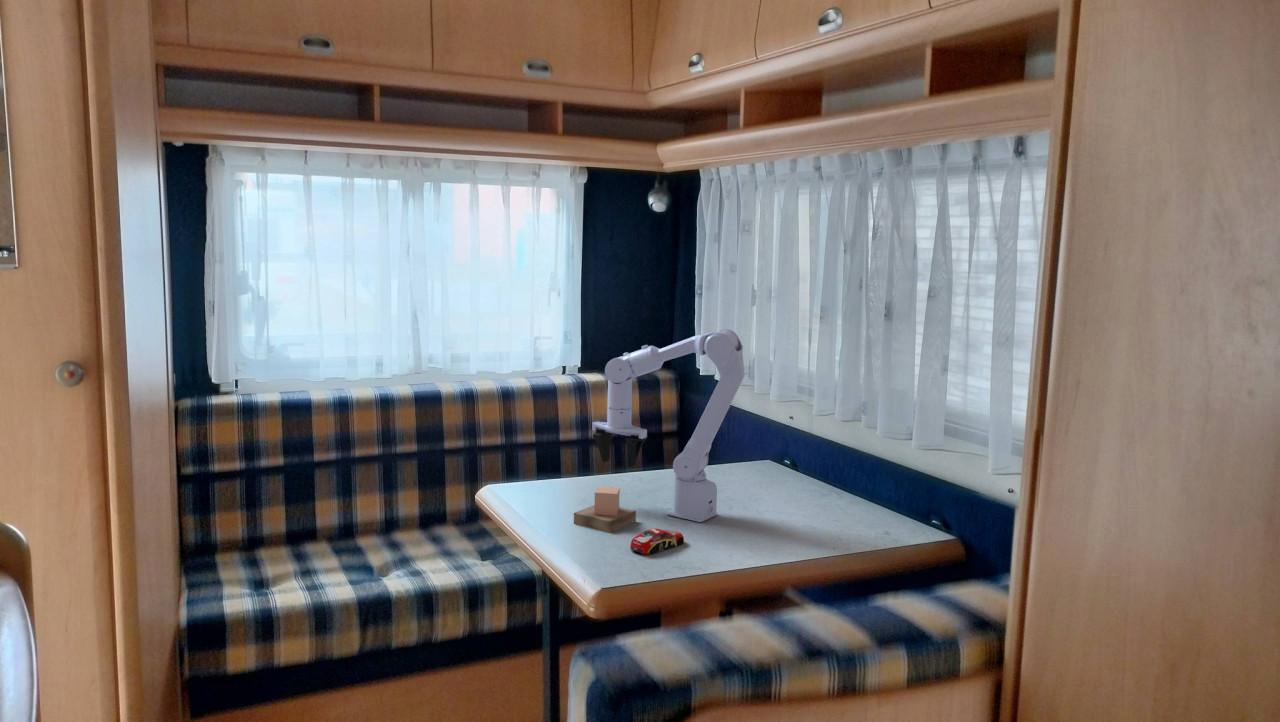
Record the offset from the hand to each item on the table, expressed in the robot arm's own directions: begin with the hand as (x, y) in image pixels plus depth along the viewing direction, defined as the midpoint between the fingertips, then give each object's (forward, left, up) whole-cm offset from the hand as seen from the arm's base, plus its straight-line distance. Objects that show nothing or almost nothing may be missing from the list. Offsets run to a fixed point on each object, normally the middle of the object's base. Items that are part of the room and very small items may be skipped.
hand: (618, 463), depth 220 cm
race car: (-23, +19, -11) cm, 32 cm away
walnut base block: (-5, +12, -11) cm, 17 cm away
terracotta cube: (-5, +12, -8) cm, 15 cm away
